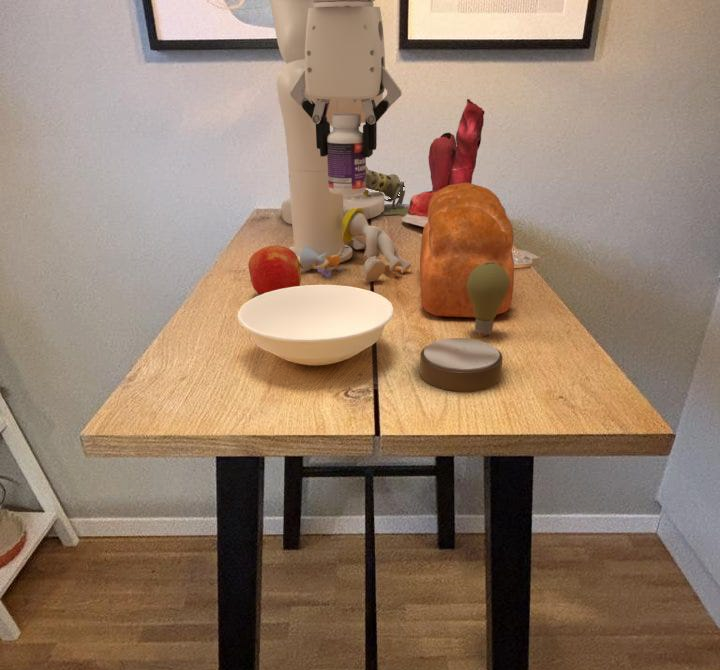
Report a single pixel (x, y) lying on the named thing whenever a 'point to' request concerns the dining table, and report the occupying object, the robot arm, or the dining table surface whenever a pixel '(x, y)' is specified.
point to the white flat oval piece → (348, 205)
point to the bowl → (316, 322)
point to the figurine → (372, 245)
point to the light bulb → (487, 294)
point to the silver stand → (461, 364)
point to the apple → (274, 269)
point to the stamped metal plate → (524, 259)
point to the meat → (450, 161)
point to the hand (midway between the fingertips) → (346, 154)
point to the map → (397, 211)
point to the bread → (462, 247)
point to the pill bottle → (346, 155)
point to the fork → (358, 244)
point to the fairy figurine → (317, 260)
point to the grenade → (385, 186)
